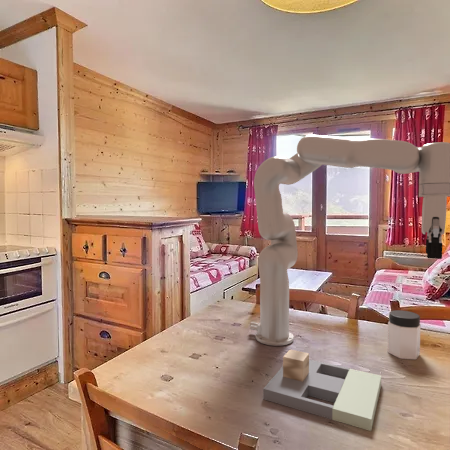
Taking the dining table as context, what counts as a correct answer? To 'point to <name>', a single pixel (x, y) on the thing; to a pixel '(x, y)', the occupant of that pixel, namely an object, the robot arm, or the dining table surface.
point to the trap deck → (329, 393)
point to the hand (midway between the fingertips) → (433, 256)
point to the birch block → (296, 365)
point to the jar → (404, 334)
